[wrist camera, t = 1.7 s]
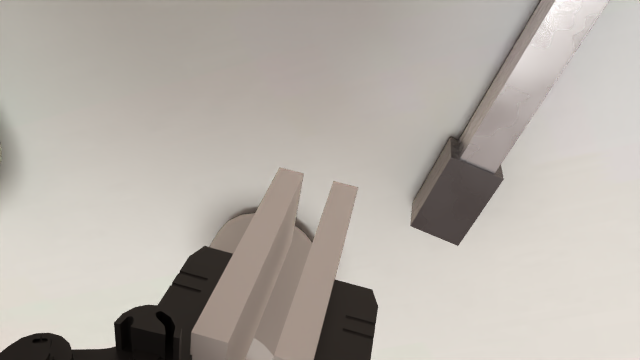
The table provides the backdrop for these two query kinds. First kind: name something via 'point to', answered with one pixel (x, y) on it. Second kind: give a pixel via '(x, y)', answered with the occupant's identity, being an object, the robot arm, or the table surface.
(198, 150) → the table surface
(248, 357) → the can
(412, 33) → the table surface
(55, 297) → the table surface
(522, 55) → the tongs arm
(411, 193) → the table surface
